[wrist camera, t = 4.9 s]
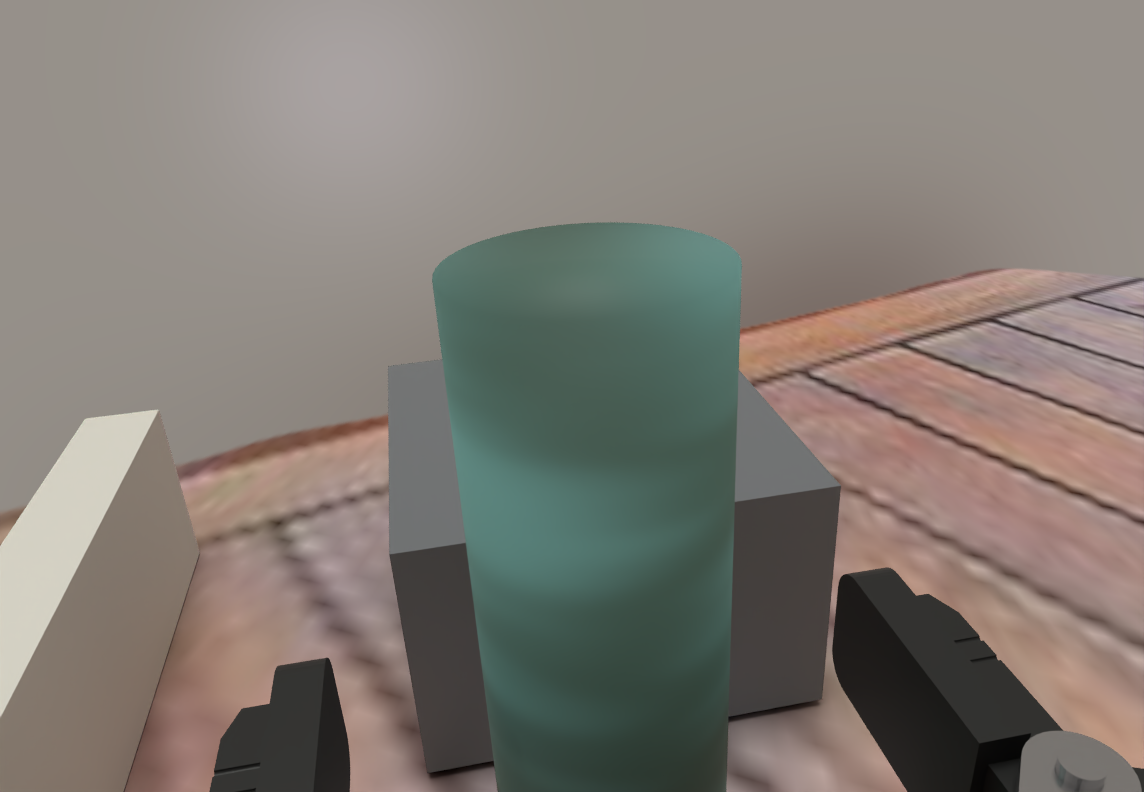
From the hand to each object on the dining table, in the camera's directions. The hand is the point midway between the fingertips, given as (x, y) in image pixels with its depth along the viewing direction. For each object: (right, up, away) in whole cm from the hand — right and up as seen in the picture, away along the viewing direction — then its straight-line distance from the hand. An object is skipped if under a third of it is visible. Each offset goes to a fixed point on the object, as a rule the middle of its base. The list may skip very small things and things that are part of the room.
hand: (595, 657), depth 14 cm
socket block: (0, -3, +15) cm, 16 cm away
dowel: (+1, -9, +4) cm, 10 cm away
